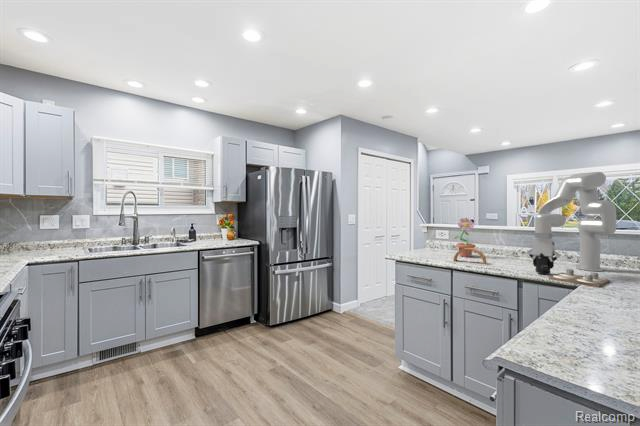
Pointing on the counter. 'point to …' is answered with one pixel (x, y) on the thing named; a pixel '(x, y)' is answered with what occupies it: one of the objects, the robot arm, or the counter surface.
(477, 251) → the arch
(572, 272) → the board
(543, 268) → the supplement bottle
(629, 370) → the counter surface
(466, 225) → the decorative flower
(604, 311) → the counter surface
